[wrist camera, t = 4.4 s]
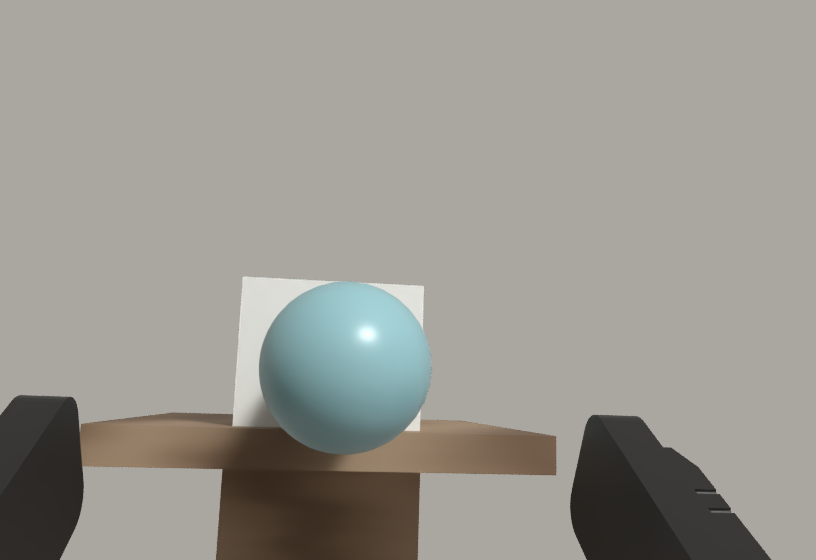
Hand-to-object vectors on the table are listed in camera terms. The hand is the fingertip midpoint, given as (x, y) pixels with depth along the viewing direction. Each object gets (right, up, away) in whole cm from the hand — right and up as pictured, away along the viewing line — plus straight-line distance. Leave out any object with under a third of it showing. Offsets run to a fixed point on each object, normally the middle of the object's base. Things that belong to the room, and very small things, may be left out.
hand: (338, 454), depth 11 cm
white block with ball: (-1, -1, +9) cm, 9 cm away
